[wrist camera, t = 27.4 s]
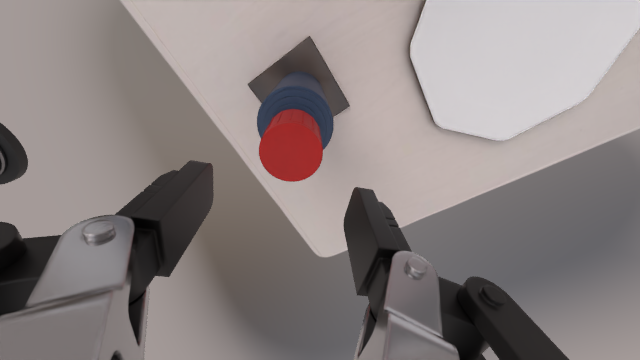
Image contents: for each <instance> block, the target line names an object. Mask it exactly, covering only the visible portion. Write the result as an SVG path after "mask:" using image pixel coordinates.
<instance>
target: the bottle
mask: <svg viewBox="0 0 640 360" xmlns="http://www.w3.org/2000/svg"><path fill="white" fill-rule="evenodd" d="M288 109H298V110H302V111H304V112H306V113H308V114H309V115H311V116H312V117H313V118H314V120H315V121H316V123H317V124H318V126H319V129H320V136H321V140H322V146H323V150H324V148H325V147H326V146H327V144H328V143H329V141H330V139H331V136H332V133H333V117H332V113H331V110H330V107H329V105H328V102H327V100H326V97H325V94H324V92H323V89H322V86H321V84H320V83H319V81H318V80H317V79H316V78H315V77H314V76H312V75H311V74H309V73H306V72H301V71H298V72H293V73H290V74H288V75H287V76H285V77H284V78H283V79H282V80H281V82H280V83H279V84H278V85H277V86H276V87H275V88H274V89H273V91H272V92H271V93H270V94H269V95H268V96H267V97H266V99H265V100H264V101H263V103H262V104H261V106H260V109H259V112H258V117H257V127H258V132H259V135H260V137H261V138H262V136H263V134H264V132H265V130H266V129H267V127H268V126H269V124H270V122H271V120H272V118H273V117H275V116H276V115H277V114H278V113H280V112H281V111H284V110H288Z"/></svg>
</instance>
